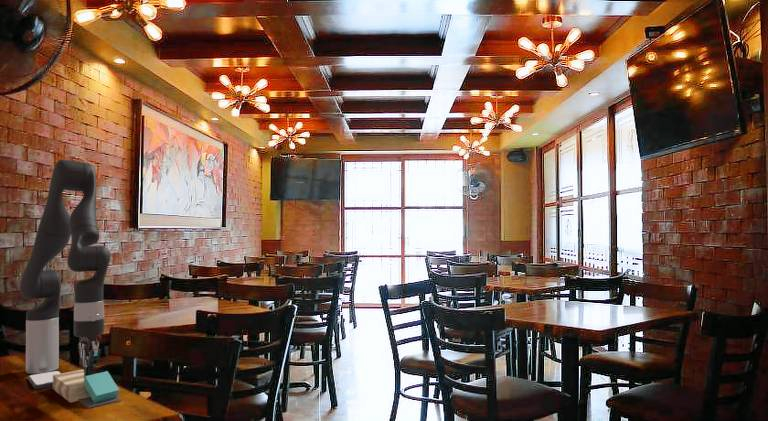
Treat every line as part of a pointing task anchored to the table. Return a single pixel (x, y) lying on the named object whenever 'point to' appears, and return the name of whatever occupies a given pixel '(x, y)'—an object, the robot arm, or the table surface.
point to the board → (70, 385)
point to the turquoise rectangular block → (101, 386)
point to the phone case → (42, 380)
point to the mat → (90, 403)
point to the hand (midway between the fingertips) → (89, 379)
